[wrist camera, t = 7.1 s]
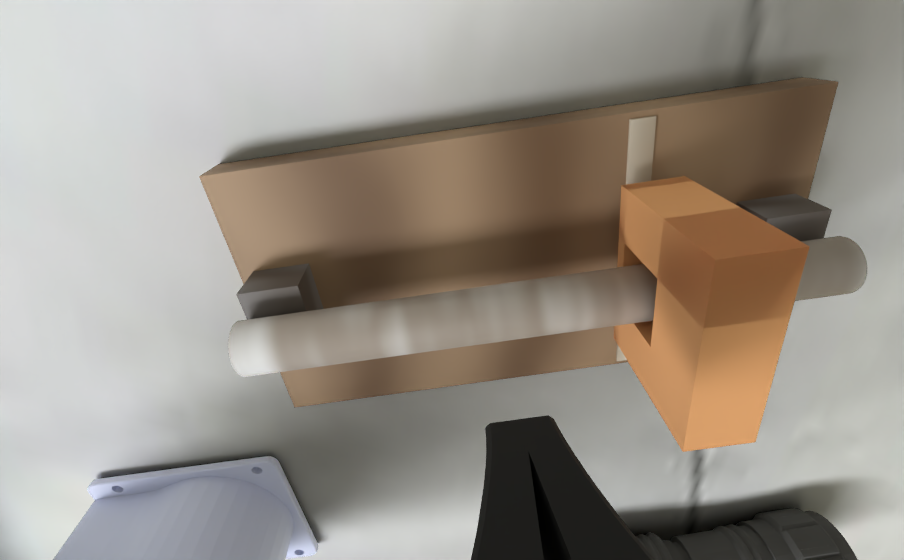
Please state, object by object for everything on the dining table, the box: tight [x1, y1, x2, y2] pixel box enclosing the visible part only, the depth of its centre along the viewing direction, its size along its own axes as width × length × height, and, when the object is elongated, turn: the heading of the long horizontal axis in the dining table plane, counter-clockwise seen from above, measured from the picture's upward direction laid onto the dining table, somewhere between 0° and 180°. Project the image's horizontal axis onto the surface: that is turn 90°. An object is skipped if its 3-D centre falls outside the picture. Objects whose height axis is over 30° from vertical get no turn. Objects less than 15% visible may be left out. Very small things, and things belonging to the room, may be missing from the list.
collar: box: [614, 176, 810, 452], centre depth 13 cm, size 2×6×5 cm, turn 8°
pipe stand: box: [199, 77, 867, 407], centre depth 16 cm, size 20×10×5 cm, turn 98°
